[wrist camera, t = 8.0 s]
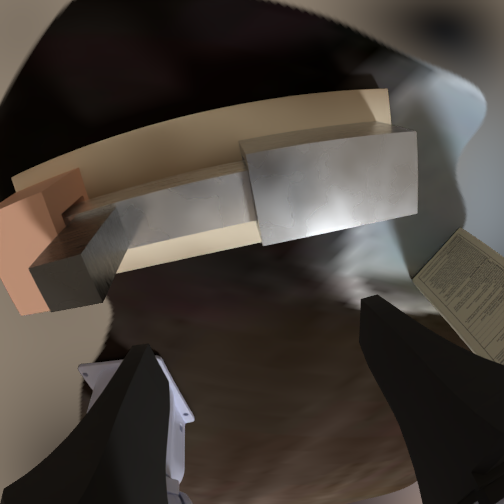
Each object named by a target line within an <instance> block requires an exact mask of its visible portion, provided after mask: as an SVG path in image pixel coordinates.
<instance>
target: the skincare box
mask: <svg viewBox="0 0 504 504" xmlns="http://www.w3.org/2000/svg"><path fill="white" fill-rule="evenodd" d="M412 282H413V283H414V284H415V285H416V287H417V288H418V289H419V290H420V291H421V293H422V294H423V295H424V296H425V297H426V298H427V299H428V301H429V302H430V303H431V304H432V305H433V306H434V307H435V308H436V310H437V311H438V312H439V313H440V314H441V315H442V316H443V318H444V319H445V320H446V321H447V322H448V323H449V324H450V325H451V327H452V328H453V329H454V330H455V331H456V333H457V334H458V335H459V336H460V337H461V339H462V340H463V341H464V342H465V343H466V345H467V346H468V347H469V348H470V349H471V351H472V352H473V353H474V354H476V355H479V356H481V357H483V358H486V359H489V360H491V361H494V362H497V363H500V364H502V365H504V257H503V256H501V255H500V254H498V253H497V252H496V251H494V250H493V249H491V248H490V247H489V246H487V245H486V244H485V243H483V242H482V241H480V240H479V239H477V238H476V237H474V236H472V235H471V234H470V233H468V232H467V231H465V230H464V229H462V228H459V229H458V230H457V231H456V232H455V233H454V234H453V235H452V237H451V238H450V239H449V240H448V241H447V242H446V243H445V244H444V245H443V247H442V248H441V249H440V250H439V251H438V252H437V253H436V254H435V256H434V257H433V258H432V259H431V260H430V261H429V262H428V263H427V264H426V265H425V266H424V267H423V268H422V270H421V271H420V272H419V273H418V274H417V275H416V276H415V277H414V278H413V280H412Z"/></svg>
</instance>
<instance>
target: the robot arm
mask: <svg viewBox="0 0 504 504" xmlns="http://www.w3.org/2000/svg"><path fill="white" fill-rule="evenodd" d="M359 343H360V346H361V348H362V351H363V354H364V356H365V359H366V361H367V364H368V366H369V368H370V370H371V372H372V374H373V376H374V377H375V379H376V381H377V383H378V385H379V387H380V389H381V390H382V392H383V394H384V396H385V398H386V400H387V402H388V403H389V405H390V407H391V409H392V411H393V413H394V415H395V417H396V419H397V421H398V423H399V426H400V429H401V431H402V434H403V437H404V440H405V442H406V445H407V448H408V451H409V454H410V457H411V460H412V463H413V467H414V470H415V474H416V478H417V481H418V485H419V489H420V494H421V498H422V503H423V504H504V365H502V364H500V363H497V362H494V361H491V360H489V359H486V358H483V357H481V356H479V355H476V354H474V353H472V352H470V351H468V350H466V349H464V348H461V347H459V346H457V345H455V344H454V343H452V342H450V341H448V340H446V339H445V338H443V337H441V336H439V335H438V334H436V333H434V332H433V331H431V330H429V329H428V328H426V327H424V326H423V325H421V324H420V323H418V322H417V321H415V320H414V319H412V318H411V317H409V316H408V315H406V314H405V313H403V312H402V311H400V310H399V309H398V308H396V307H395V306H393V305H392V304H390V303H389V302H388V301H386V300H385V299H383V298H382V297H380V296H379V295H374V296H370V297H367V298H363V299H361V313H360V336H359ZM78 370H79V372H80V374H81V375H82V376H83V378H84V379H85V380H86V382H87V383H88V385H89V386H90V387H91V389H92V390H93V393H92V396H91V400H90V404H89V407H88V411H87V414H86V415H85V417H84V418H83V419H82V420H81V422H80V423H79V424H78V425H77V427H76V428H75V429H74V430H73V431H72V432H71V433H70V435H69V436H68V437H67V438H66V439H65V440H64V441H63V442H62V443H61V444H60V445H59V446H58V447H57V448H56V449H55V450H54V451H53V452H52V453H51V454H50V455H49V456H48V457H47V458H45V459H44V460H43V461H42V462H41V463H40V464H38V465H37V466H36V467H35V468H33V469H32V470H31V471H30V472H28V473H27V474H26V475H24V476H23V477H21V478H20V479H18V480H17V481H15V482H14V483H12V484H11V485H9V486H8V487H6V488H4V490H3V494H2V499H1V503H0V504H193V503H192V502H191V500H190V498H189V497H188V496H187V495H186V494H185V493H183V492H179V483H180V482H181V480H182V478H183V475H184V460H185V423H188V422H193V421H194V415H193V414H192V412H191V410H190V409H189V407H188V405H187V403H186V402H185V400H184V398H183V396H182V395H181V393H180V391H179V389H178V387H177V386H176V384H175V382H174V380H173V378H172V377H171V375H170V373H169V371H168V369H167V367H166V365H165V363H164V361H163V360H162V358H161V357H160V356H157V355H154V353H153V351H152V349H151V347H150V345H149V344H143V345H136V346H132V348H131V349H130V350H129V352H128V353H127V355H126V356H125V358H124V359H123V360H114V361H106V362H96V363H87V364H80V365H79V366H78Z"/></svg>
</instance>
